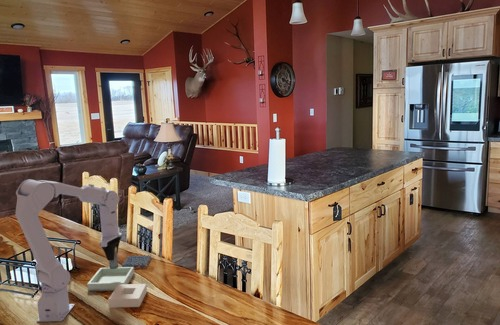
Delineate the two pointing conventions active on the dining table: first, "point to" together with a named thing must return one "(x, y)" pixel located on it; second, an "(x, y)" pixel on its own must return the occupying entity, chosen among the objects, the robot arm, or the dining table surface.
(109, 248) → the robot arm
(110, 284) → the tray
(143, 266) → the woven mat
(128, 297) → the block
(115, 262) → the steel pin
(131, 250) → the dining table surface
